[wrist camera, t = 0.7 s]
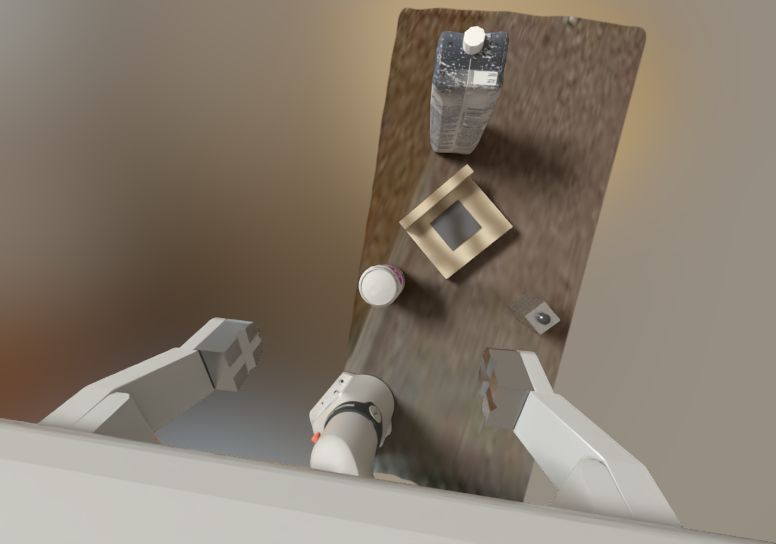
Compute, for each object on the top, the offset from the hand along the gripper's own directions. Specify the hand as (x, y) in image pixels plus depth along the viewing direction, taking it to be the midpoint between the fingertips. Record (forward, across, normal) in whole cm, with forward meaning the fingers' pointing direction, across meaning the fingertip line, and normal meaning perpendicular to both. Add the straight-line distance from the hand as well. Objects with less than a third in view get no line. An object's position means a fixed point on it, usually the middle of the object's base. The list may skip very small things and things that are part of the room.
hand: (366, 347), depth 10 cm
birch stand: (+56, +9, -15) cm, 59 cm away
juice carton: (+65, +8, +4) cm, 66 cm away
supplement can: (+51, -5, -28) cm, 58 cm away
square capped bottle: (+48, +26, -30) cm, 62 cm away
